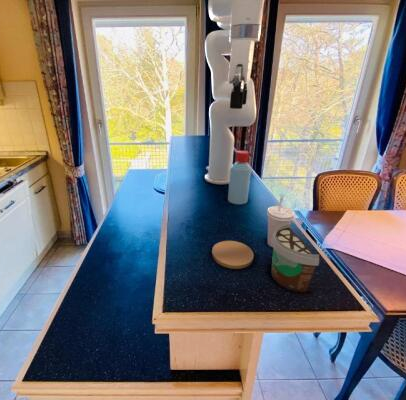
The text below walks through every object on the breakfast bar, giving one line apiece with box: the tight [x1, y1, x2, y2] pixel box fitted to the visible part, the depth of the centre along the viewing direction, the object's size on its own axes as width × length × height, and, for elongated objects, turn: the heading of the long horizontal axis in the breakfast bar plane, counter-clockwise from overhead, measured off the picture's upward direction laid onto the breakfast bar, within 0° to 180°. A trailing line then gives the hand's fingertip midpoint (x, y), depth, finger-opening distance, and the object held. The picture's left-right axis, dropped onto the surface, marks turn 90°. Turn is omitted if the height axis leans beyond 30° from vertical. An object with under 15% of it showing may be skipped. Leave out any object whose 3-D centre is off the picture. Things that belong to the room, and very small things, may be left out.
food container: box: [270, 224, 320, 293], centre depth 56 cm, size 12×6×10 cm, turn 4°
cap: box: [235, 149, 250, 163], centre depth 87 cm, size 4×4×3 cm
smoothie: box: [266, 194, 295, 248], centre depth 66 cm, size 6×6×14 cm
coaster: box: [211, 240, 255, 270], centre depth 65 cm, size 10×10×1 cm
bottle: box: [227, 161, 252, 205], centre depth 90 cm, size 7×7×17 cm
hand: (238, 106), depth 75 cm, fingers open, 9 cm apart
